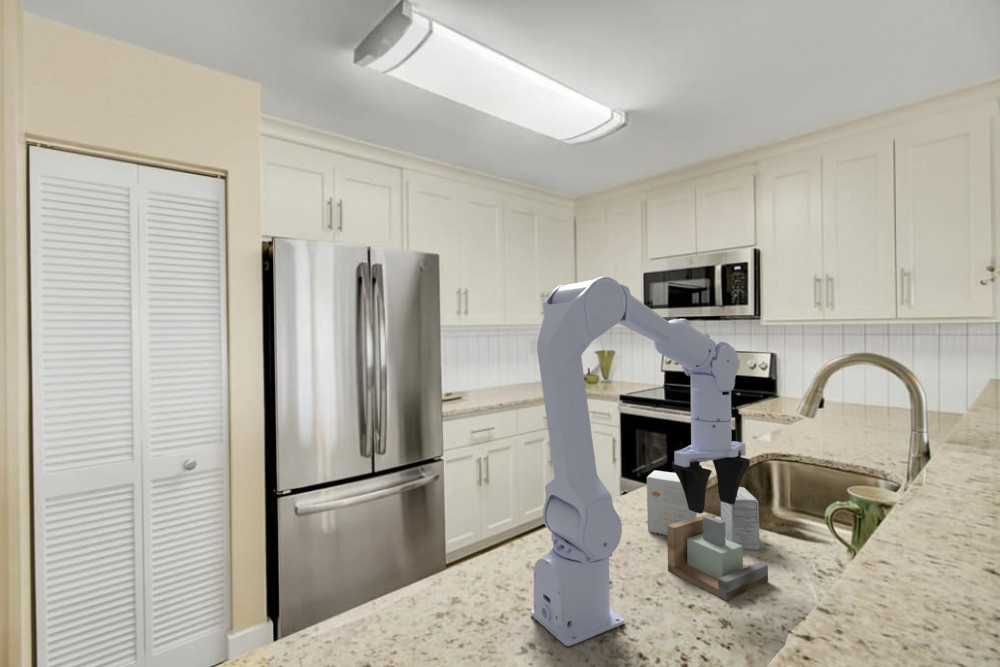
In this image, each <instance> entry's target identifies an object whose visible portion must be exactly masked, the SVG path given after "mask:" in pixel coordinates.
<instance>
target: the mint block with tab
mask: <svg viewBox="0 0 1000 667" xmlns="http://www.w3.org/2000/svg"><path fill="white" fill-rule="evenodd" d="M743 551H744V549H743V546H742V545H739V544H737V543H734V542H732V541H729V540H728V539H727V538H726V535H725V521H722V520H721V519H718V518H716V517H715V518H713V517H711V516H704V517H703V534H700V535H697V536H694V537H690V538H687V564H688V565H690V566H692V567H694V568H696V569H698V570H700V571H702V572H704V573H707V574H709V575H711V576H713V577H715V578H717V579H719V578H721V577H724V576H726V575H729V574H731V573H734V572H736V571H738V570H741V569H743V565H744V560H743V558H744V557H743V556H744V555H743Z"/></svg>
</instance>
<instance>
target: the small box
mask: <svg viewBox="0 0 1000 667" xmlns="http://www.w3.org/2000/svg"><path fill="white" fill-rule="evenodd" d="M646 502H647V503H646V506H647V508H646V509H647V532H648V531H649V533H652V532H654V533H653V534H657V533H659V534H658V535H662V534H663V535H662V536H667V537H668V530H667V525H671V524H674V523H678V522H681V521H685V520H688V519H691V518H695V517H698V516H697V514H698V513H696V512H693V511H691V510H689V508H688V504H687V501H686V497H685V493H684V490H683V487H682V485H681V482H680V480H679V478H678V476H677V474H676V473H675V472H669V471H662V470H653V471H652V472H651V473H650V474H648V476H646Z"/></svg>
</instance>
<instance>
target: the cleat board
mask: <svg viewBox="0 0 1000 667" xmlns="http://www.w3.org/2000/svg"><path fill="white" fill-rule="evenodd" d="M704 516H711V517H713V518H716V517H715V515H713V514H710V513H706V514H703V515H699V516H697V517H695V518H691V519H688V520H685V521H681V522H678V523H674V524H671V525H667V530H668V536H667V571H668V572H670V573H673V574H674V575H677V576H678V577H680V578H682V579H683V580H686V581H687V582H690V583H692V584H693V585H696V586H698V587H699V588H701V589H704V590H706V591H707V592H709V593H711V594H712V595H715V596H716V597H719V598H721V599H723V600H724V601H729V600H731V599H733V598H736V597H737V596H740V595H742V594H744V593H746V592H748V591H751V590H753V589H755V588H757V587H760V586H762V585H764V584H766V583H769V565H768V564H766V563H764V562H762V561H759V562H756V563H754V564H751V565H749V566H748V565H745V564H743V569H741V570H738V571H736V572H734V573H731V574H729V575H726V576H724V577H721V578H719V579H717V578H715V577H713V576H711V575H709V574H707V573H704V572H702V571H700V570H698V569H696V568H694V567H692V566H690V565H688V564H687V538H690V537H694V536H697V535H700V534H703V517H704Z"/></svg>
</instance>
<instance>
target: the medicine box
mask: <svg viewBox="0 0 1000 667" xmlns="http://www.w3.org/2000/svg"><path fill="white" fill-rule="evenodd" d="M759 509H760V508H759V501H758V500H757V498H756V497H755V496H754V495H753V494H751V492H749V491H748V490H747V489H746V488H745V487H743V486H742V487H741V486H739V489H738V493H737V497H736V500H735V504H733V505H731V504H728V503H725V502H722V501H720V520H722V521H725V535H726V540H729V541H732V542H734V543H737V544H739V545H742V546H743V550H750V551H760V549H761V545H760V544H761V543H760V542H761V541H760V540H761V539H760V517H759V516H760V513H759V512H760V511H759Z"/></svg>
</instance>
